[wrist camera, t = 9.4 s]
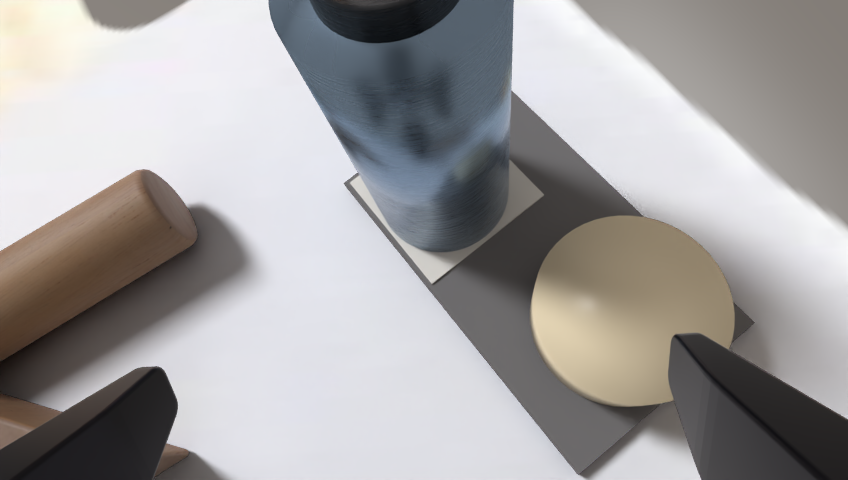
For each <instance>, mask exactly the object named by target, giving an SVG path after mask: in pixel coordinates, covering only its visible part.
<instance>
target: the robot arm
mask: <svg viewBox="0 0 848 480" xmlns="http://www.w3.org/2000/svg"><path fill="white" fill-rule="evenodd" d="M668 381H669V386H670V390H671V393H672V396H673V399H674V402H675V405H676V408H677V411H678V414H679V417H680V420H681V423H682V426H683V429H684V432H685V435H686V438H687V441H688V444H689V447H690V450H691V453H692V456H693V459H694V461H695V464H696V467H697V470H698V473H699V475H700V477H701V480H848V419H846V418H844V417H843V416H841V415H839V414H838V413H836V412H834V411H832V410H831V409H829V408H827V407H826V406H824V405H822V404H821V403H819V402H817V401H815V400H814V399H812V398H810V397H809V396H807V395H805V394H804V393H802V392H800V391H798V390H797V389H795V388H793V387H792V386H790V385H788V384H787V383H785V382H783V381H781V380H780V379H778V378H776V377H775V376H773V375H771V374H770V373H768V372H766V371H764V370H763V369H761V368H759V367H758V366H756V365H754V364H753V363H751V362H749V361H747V360H746V359H744V358H742V357H741V356H739V355H737V354H736V353H734V352H732V351H730V350H729V349H727V348H725V347H724V346H722V345H720V344H719V343H717V342H715V341H713V340H712V339H710V338H708V337H707V336H705V335H703V334H701V333H680V334H675V335H674V336H673V337H672V339H671V344H670V356H669V367H668ZM177 410H178V403H177V398H176V396H175V394H174V391H173V389H172V387H171V384H170V382H169V380H168V377H167V375H166V373H165V371H164V370H163V369H162V368H161V367H157V366H156V367H141V368H137V369H135V370H133V371H131V372H130V373H128V374H126V375H125V376H123V377H121V378H119V379H118V380H116V381H114V382H113V383H111V384H109V385H108V386H106V387H104V388H103V389H101V390H99V391H98V392H96V393H94V394H93V395H91V396H89V397H87V398H86V399H84V400H82V401H81V402H79V403H77V404H76V405H74V406H72V407H71V408H69V409H67V410H66V411H64V412H62V413H61V414H59V415H57V416H55V417H54V418H52V419H50V420H49V421H47V422H45V423H44V424H42V425H40V426H39V427H37V428H35V429H34V430H32V431H30V432H29V433H27V434H25V435H23V436H22V437H20V438H18V439H17V440H15V441H13V442H12V443H10V444H8V445H7V446H5V447H3V448H2V449H0V480H153V479H154V476H155V473H156V470H157V468H158V465H159V462H160V459H161V456H162V454H163V451H164V448H165V445H166V443H167V440H168V437H169V434H170V431H171V429H172V426H173V423H174V420H175V418H176V415H177Z"/></svg>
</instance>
